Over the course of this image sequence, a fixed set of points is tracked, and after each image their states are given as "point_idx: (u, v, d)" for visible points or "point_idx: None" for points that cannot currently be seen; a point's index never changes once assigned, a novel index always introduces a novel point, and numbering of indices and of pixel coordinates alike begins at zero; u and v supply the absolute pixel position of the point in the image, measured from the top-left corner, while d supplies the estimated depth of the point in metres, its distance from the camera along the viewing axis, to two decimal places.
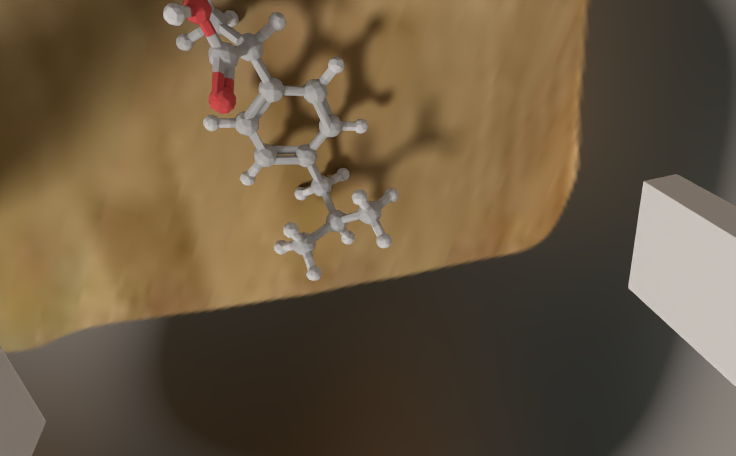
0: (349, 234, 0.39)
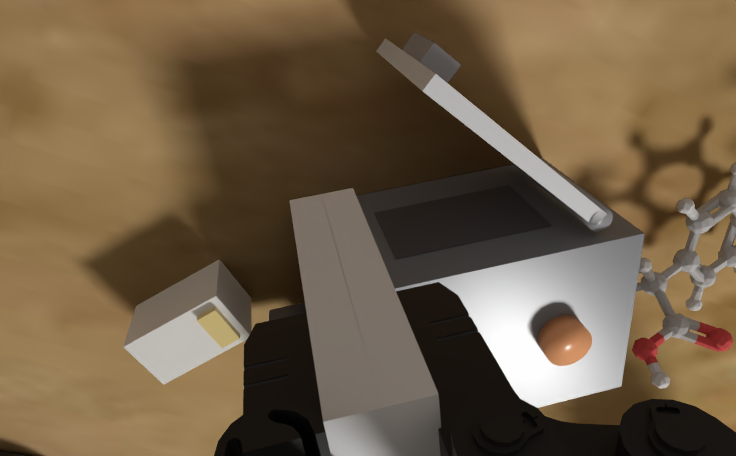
0: None
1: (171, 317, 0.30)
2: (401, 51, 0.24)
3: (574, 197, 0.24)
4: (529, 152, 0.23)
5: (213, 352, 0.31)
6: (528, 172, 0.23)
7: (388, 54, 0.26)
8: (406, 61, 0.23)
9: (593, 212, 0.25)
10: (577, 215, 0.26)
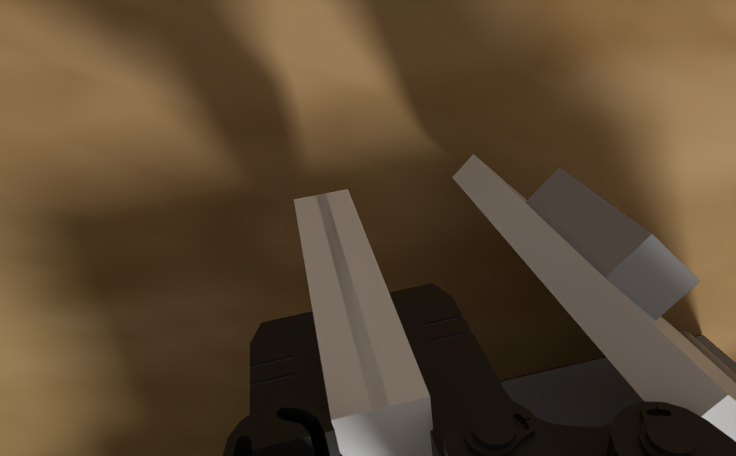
0: None
1: None
2: (532, 215, 0.11)
3: None
4: None
5: None
6: None
7: (489, 204, 0.12)
8: (560, 257, 0.10)
9: None
10: None
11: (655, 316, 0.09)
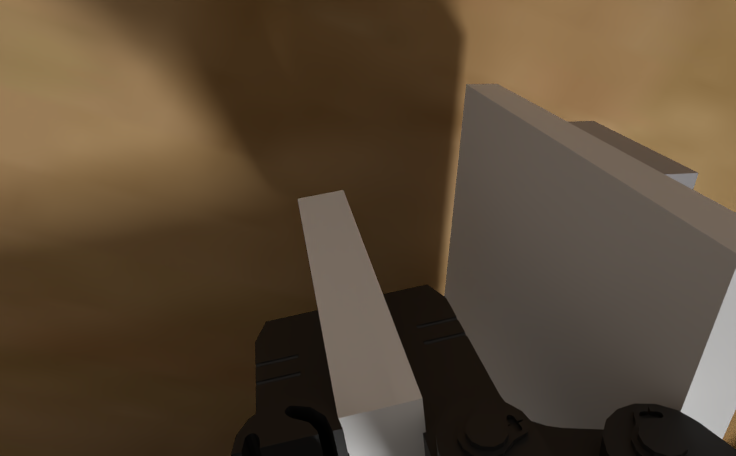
0: None
1: None
2: (565, 122, 0.10)
3: None
4: None
5: None
6: None
7: (511, 105, 0.11)
8: (595, 146, 0.09)
9: None
10: None
11: None
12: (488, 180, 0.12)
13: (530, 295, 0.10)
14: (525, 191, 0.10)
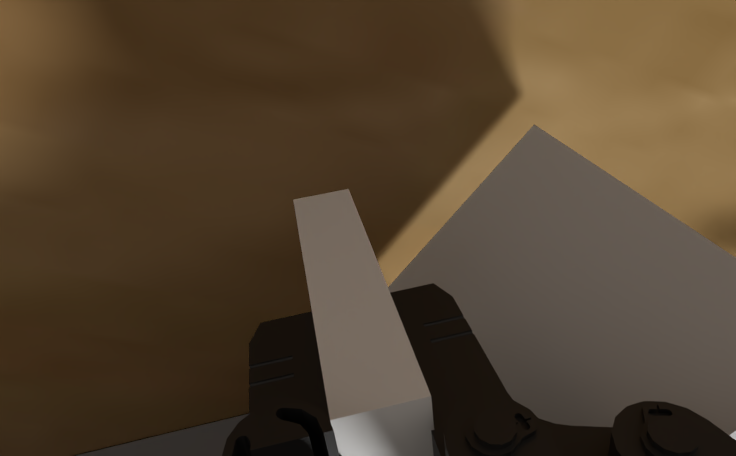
0: None
1: None
2: None
3: None
4: None
5: None
6: None
7: (584, 159, 0.12)
8: None
9: None
10: None
11: None
12: (522, 208, 0.13)
13: (534, 315, 0.11)
14: (576, 228, 0.11)
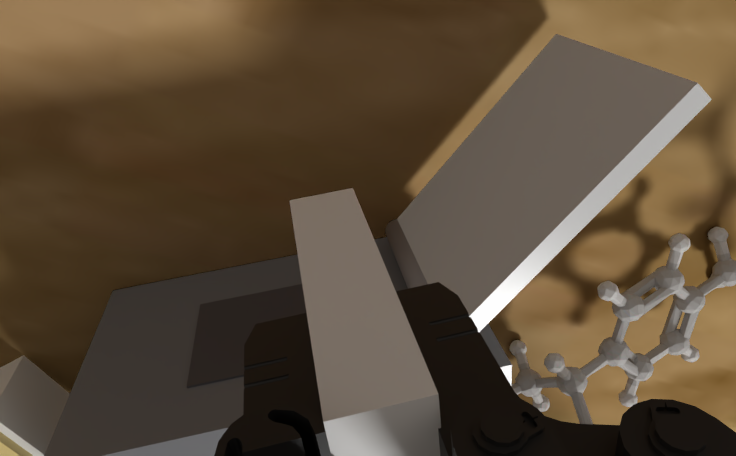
0: None
1: None
2: None
3: (493, 307, 0.18)
4: (572, 236, 0.17)
5: None
6: (545, 241, 0.17)
7: None
8: None
9: None
10: None
11: None
12: (549, 78, 0.21)
13: (556, 125, 0.19)
14: (580, 79, 0.20)
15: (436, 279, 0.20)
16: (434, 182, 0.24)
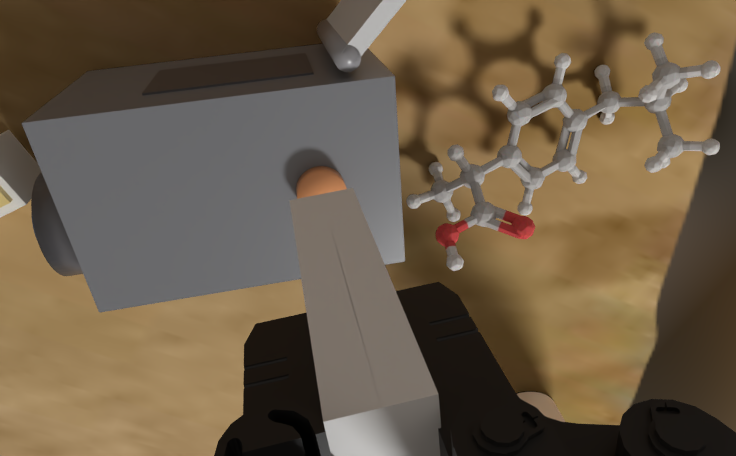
0: (677, 84, 0.34)
1: None
2: None
3: (379, 22, 0.23)
4: None
5: None
6: None
7: None
8: None
9: (358, 48, 0.24)
10: (341, 41, 0.25)
11: None
12: None
13: None
14: None
15: (344, 27, 0.26)
16: None
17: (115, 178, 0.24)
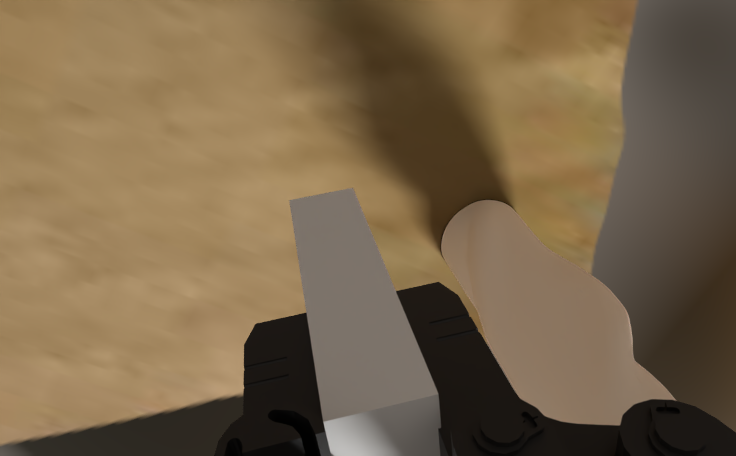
0: None
1: None
2: None
3: None
4: None
5: None
6: None
7: None
8: None
9: None
10: None
11: None
12: None
13: None
14: None
15: None
16: None
17: None
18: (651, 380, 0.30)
